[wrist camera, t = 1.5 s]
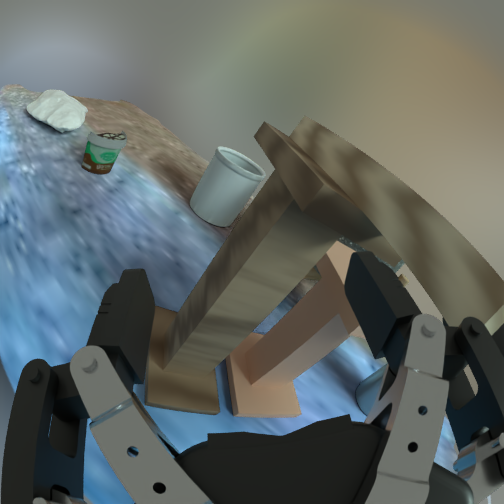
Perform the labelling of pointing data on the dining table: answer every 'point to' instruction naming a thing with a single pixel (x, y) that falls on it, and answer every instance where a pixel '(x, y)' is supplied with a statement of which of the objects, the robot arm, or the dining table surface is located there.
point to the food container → (102, 151)
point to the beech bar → (411, 229)
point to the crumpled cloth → (58, 110)
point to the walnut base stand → (253, 274)
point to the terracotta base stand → (293, 344)
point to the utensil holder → (225, 187)
